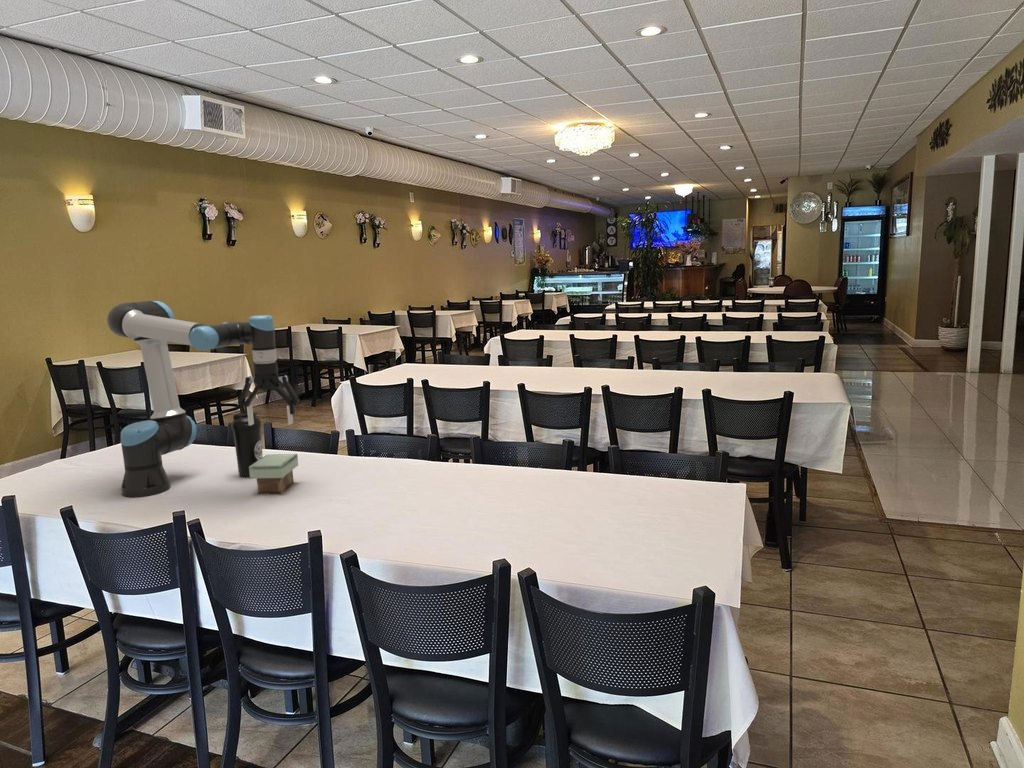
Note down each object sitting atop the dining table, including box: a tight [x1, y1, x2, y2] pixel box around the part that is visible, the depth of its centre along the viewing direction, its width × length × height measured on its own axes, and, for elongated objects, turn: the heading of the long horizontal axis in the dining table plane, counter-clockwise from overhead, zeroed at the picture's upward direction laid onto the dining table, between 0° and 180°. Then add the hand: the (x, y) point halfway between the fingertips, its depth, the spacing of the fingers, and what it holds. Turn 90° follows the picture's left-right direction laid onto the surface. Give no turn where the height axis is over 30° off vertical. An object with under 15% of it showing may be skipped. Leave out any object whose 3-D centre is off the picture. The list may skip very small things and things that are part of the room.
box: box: [256, 469, 295, 495], centre depth 244 cm, size 12×8×9 cm, turn 177°
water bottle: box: [231, 411, 264, 479], centre depth 260 cm, size 10×10×23 cm
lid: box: [249, 453, 299, 479], centre depth 243 cm, size 15×11×4 cm
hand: (271, 424), depth 241 cm, fingers open, 13 cm apart
